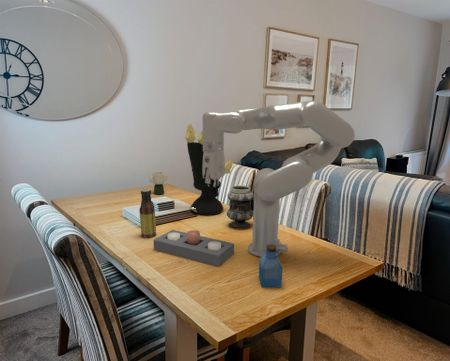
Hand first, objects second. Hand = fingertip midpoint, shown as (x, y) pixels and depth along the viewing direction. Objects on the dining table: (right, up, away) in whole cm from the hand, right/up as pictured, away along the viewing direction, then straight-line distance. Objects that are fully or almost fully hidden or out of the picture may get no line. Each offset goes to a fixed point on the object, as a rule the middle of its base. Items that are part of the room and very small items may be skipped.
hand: (213, 196), depth 127 cm
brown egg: (-8, -18, +1) cm, 20 cm away
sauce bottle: (-28, -17, +17) cm, 37 cm away
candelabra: (-6, -10, +49) cm, 50 cm away
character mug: (-36, -2, +82) cm, 89 cm away
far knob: (-16, -20, +6) cm, 26 cm away
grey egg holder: (-8, -21, +2) cm, 22 cm away
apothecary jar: (+11, -15, +30) cm, 35 cm away
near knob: (0, -22, -2) cm, 22 cm away
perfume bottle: (+18, -26, -19) cm, 37 cm away
